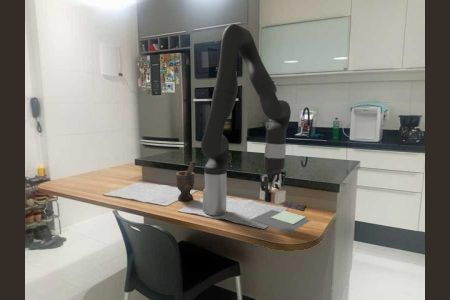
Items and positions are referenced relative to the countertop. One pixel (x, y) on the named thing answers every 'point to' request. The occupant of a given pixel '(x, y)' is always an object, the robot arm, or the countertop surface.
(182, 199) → the mortar and pestle
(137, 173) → the countertop surface
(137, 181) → the countertop surface
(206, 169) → the robot arm
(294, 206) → the chocolate bar
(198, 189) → the countertop surface
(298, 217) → the mat
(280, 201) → the card box
